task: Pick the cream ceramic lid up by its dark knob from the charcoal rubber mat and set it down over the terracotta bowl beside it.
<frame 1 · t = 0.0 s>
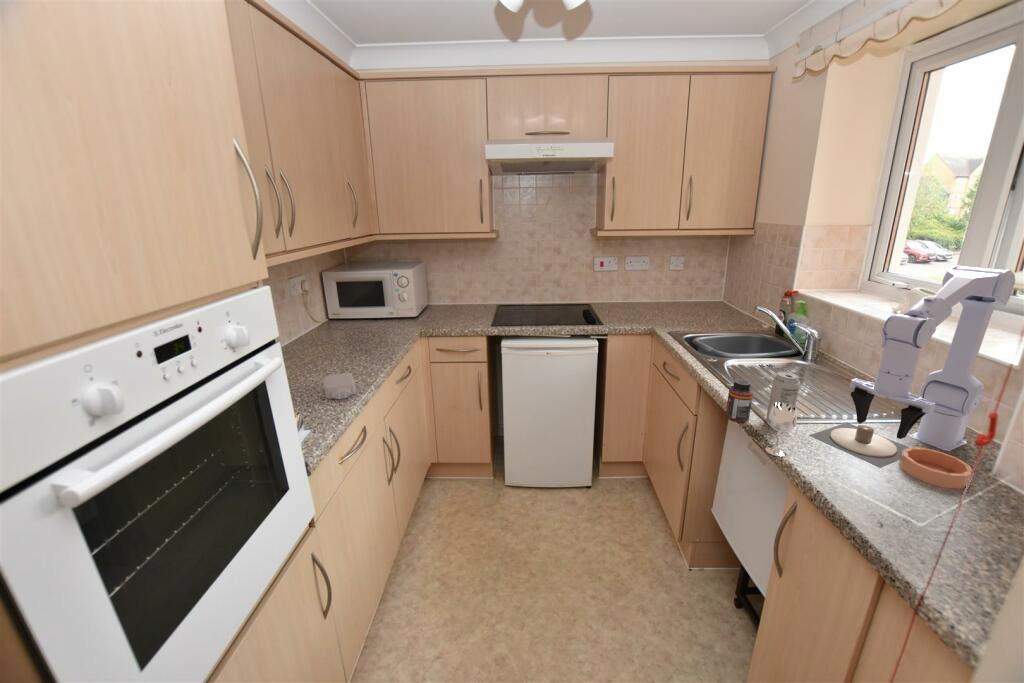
hand: (880, 429, 96), 10 cm above the worktop, tool pointing down, fingers open, 7 cm apart
mat: (861, 444, 109), on the worktop
supplement bottle: (736, 419, 123), on the worktop
wineglass: (775, 452, 106), on the worktop
bowl: (931, 474, 97), on the worktop
energy drink can: (777, 427, 118), on the worktop
lid: (862, 442, 109), resting on mat
charger: (341, 396, 141), on the worktop
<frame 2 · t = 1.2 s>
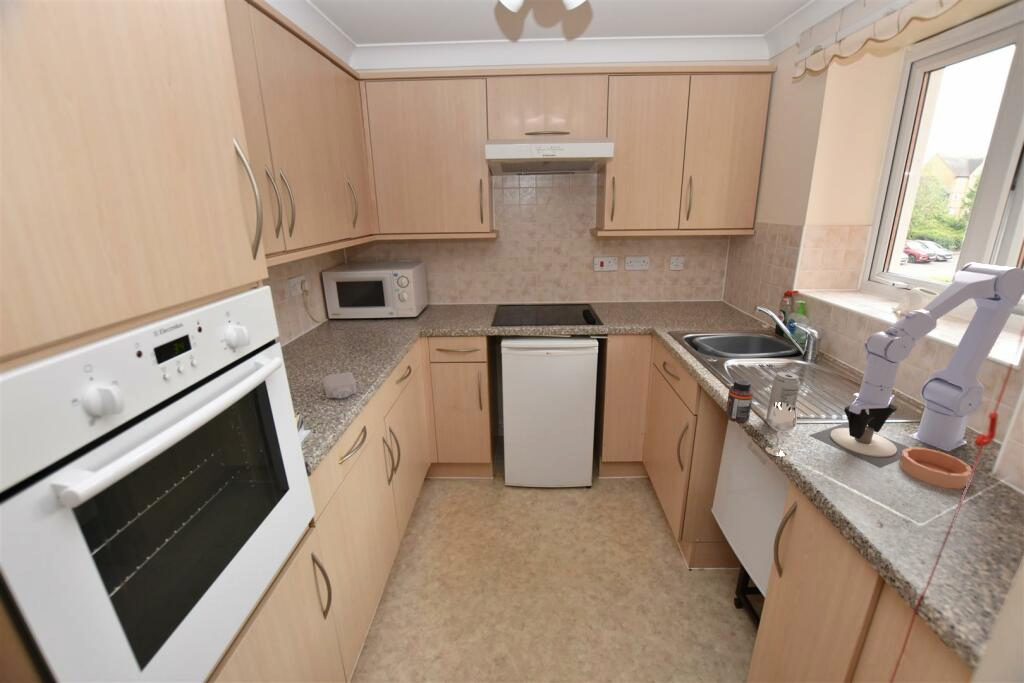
hand: (864, 433, 108), 3 cm above the worktop, tool pointing down, fingers open, 7 cm apart
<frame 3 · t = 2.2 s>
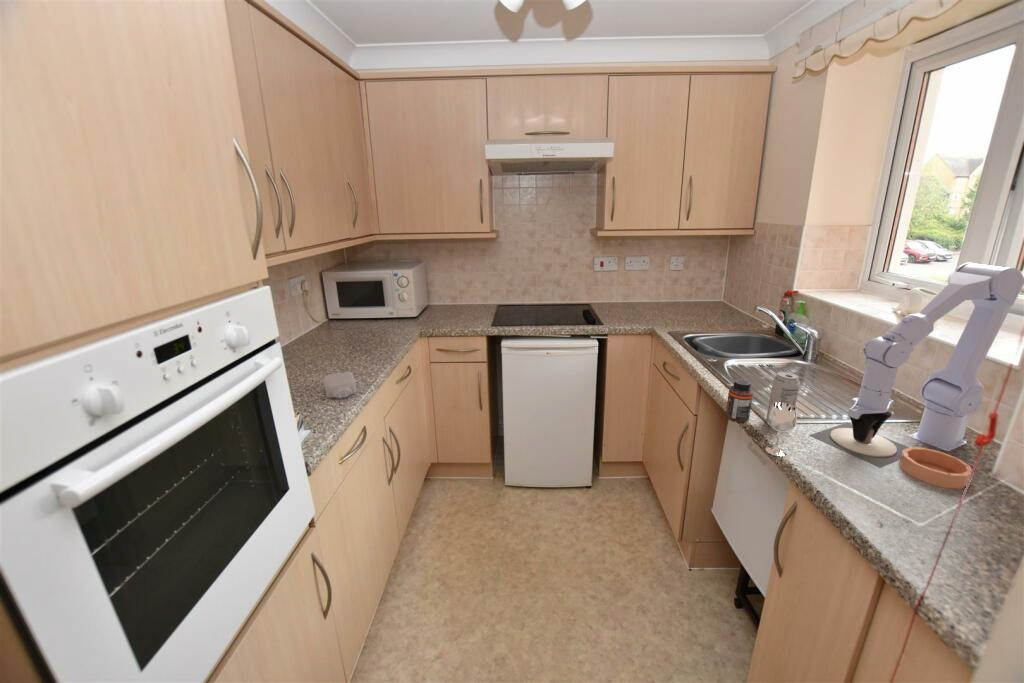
hand: (863, 438, 108), 2 cm above the worktop, tool pointing down, fingers closed on lid, 3 cm apart
lid: (862, 442, 109), resting on mat, touching gripper
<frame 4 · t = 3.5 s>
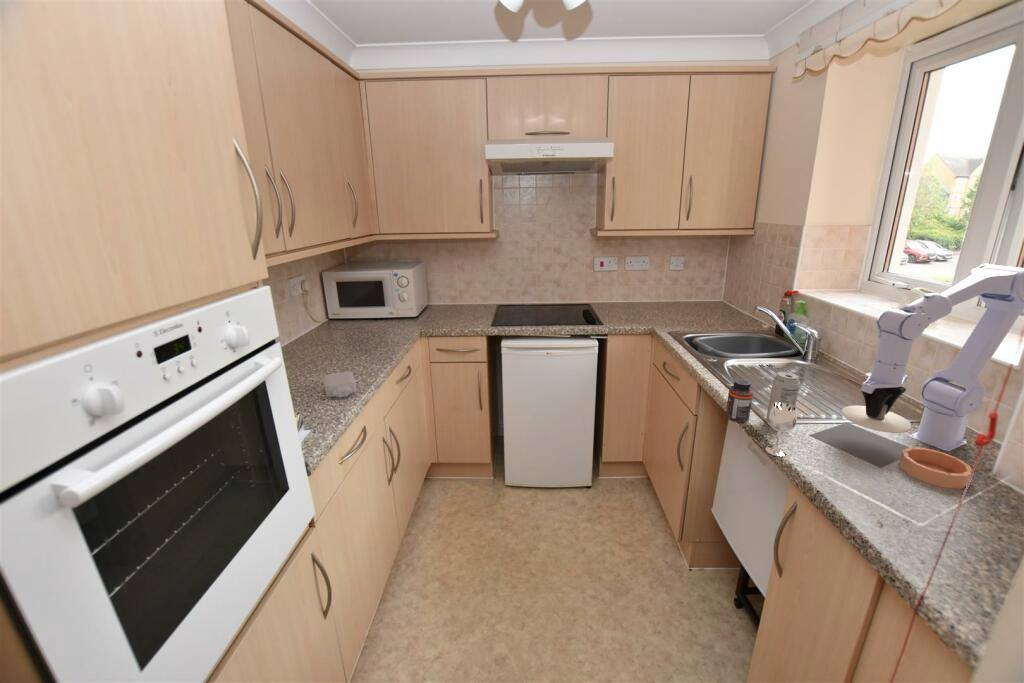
hand: (876, 414, 105), 9 cm above the worktop, tool pointing down, fingers closed on lid, 3 cm apart
lid: (874, 419, 105), point 8 cm above the worktop, touching gripper
when the fingers open (6 cm above the worktop, at t = 5.2 s): lid drops 2 cm, resting on bowl.
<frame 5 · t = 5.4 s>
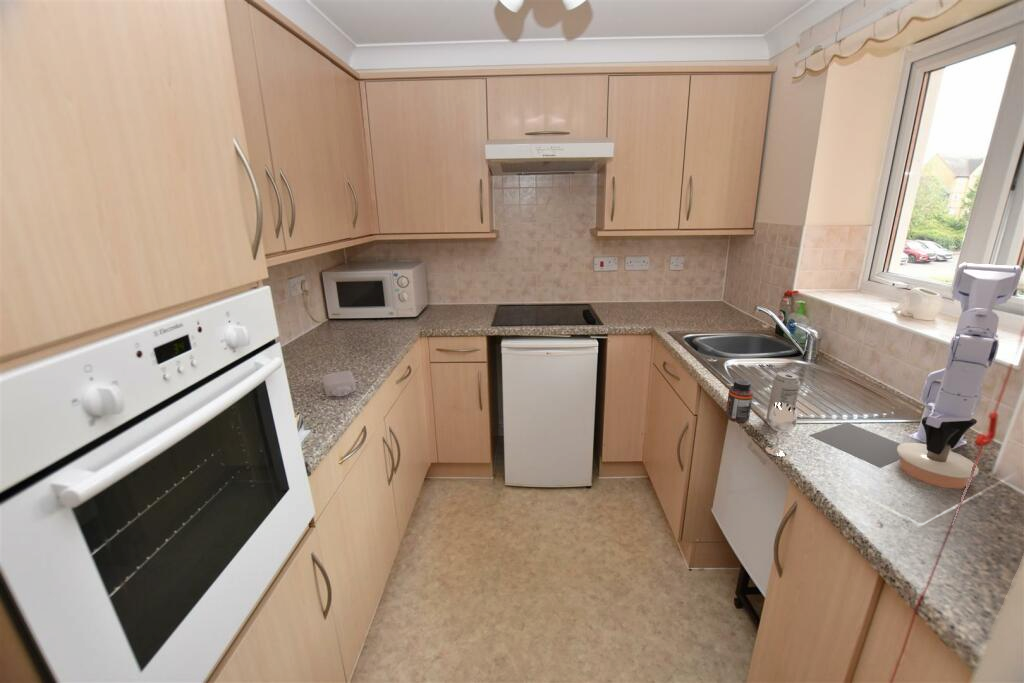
hand: (940, 449, 95), 6 cm above the worktop, tool pointing down, fingers open, 5 cm apart
lid: (935, 460, 96), point 3 cm above the worktop, touching bowl
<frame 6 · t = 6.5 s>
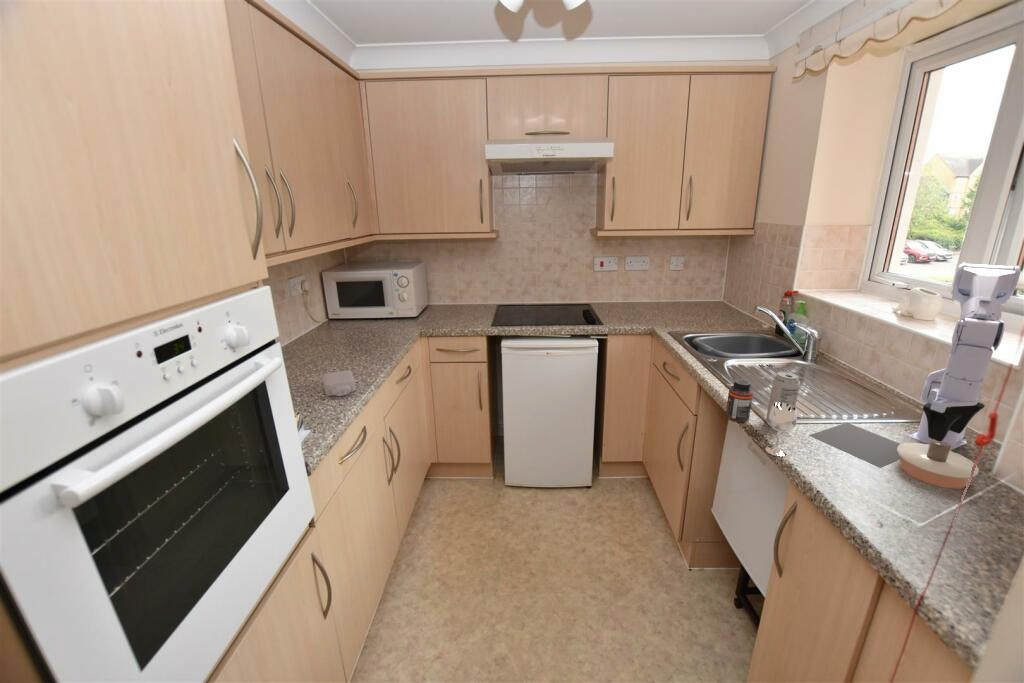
hand: (944, 435, 94), 10 cm above the worktop, tool pointing down, fingers open, 7 cm apart
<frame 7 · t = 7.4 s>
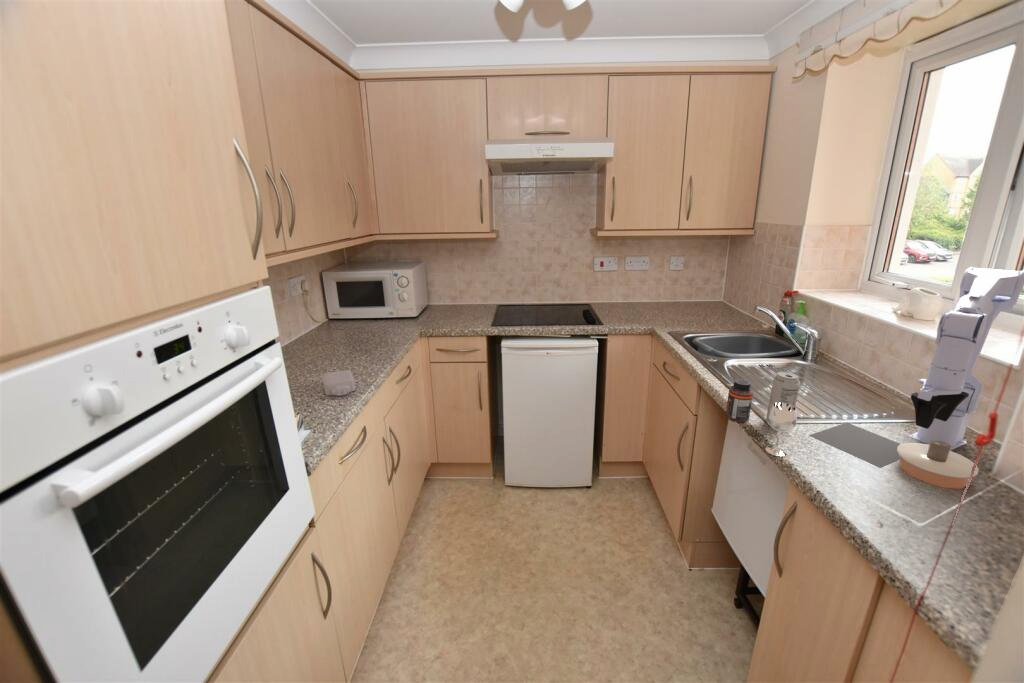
hand: (931, 422, 99), 10 cm above the worktop, tool pointing down, fingers open, 7 cm apart
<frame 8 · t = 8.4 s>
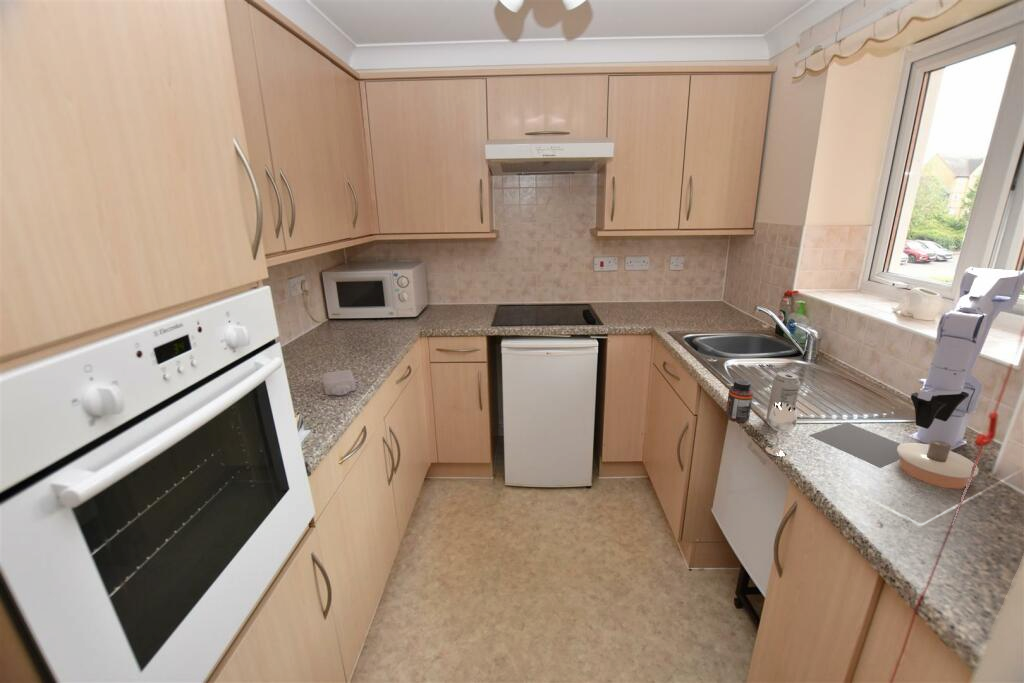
hand: (931, 422, 99), 10 cm above the worktop, tool pointing down, fingers open, 7 cm apart
at the end: lid 0.2 cm from the bowl (horizontally); lid point 3.5 cm above the worktop; lid tilted 0° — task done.
